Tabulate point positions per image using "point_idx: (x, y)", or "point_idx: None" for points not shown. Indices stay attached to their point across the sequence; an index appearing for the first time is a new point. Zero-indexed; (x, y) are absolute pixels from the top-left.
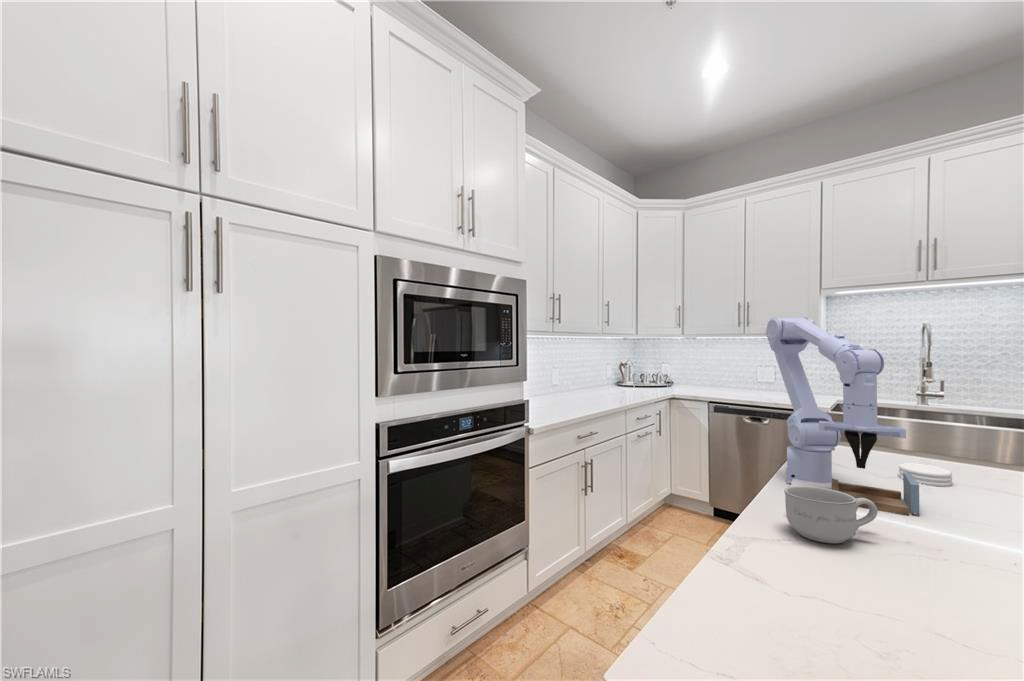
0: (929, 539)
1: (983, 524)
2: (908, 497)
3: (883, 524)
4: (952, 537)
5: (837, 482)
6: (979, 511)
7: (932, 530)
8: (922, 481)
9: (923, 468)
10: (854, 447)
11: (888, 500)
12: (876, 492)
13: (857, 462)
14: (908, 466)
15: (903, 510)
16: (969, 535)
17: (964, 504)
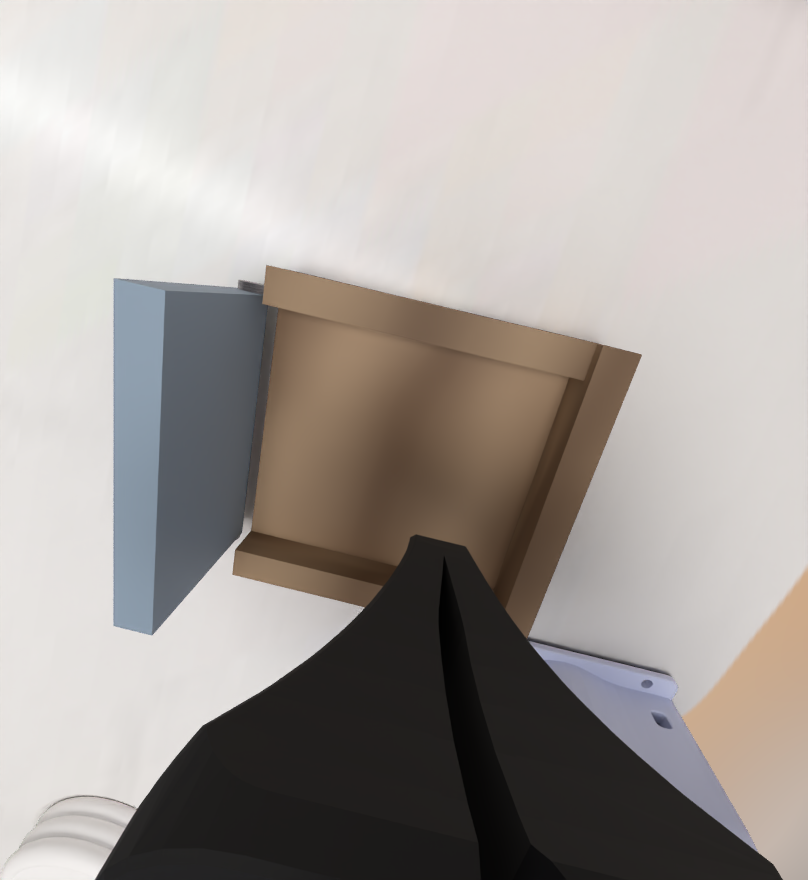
0: (272, 39)
1: (23, 404)
2: (228, 392)
3: (420, 198)
4: (166, 139)
5: (514, 595)
6: (11, 563)
7: (224, 212)
8: (118, 817)
9: None
10: (545, 690)
11: (309, 499)
12: (338, 563)
13: (472, 567)
14: None
15: (297, 272)
16: (95, 214)
17: (43, 627)
